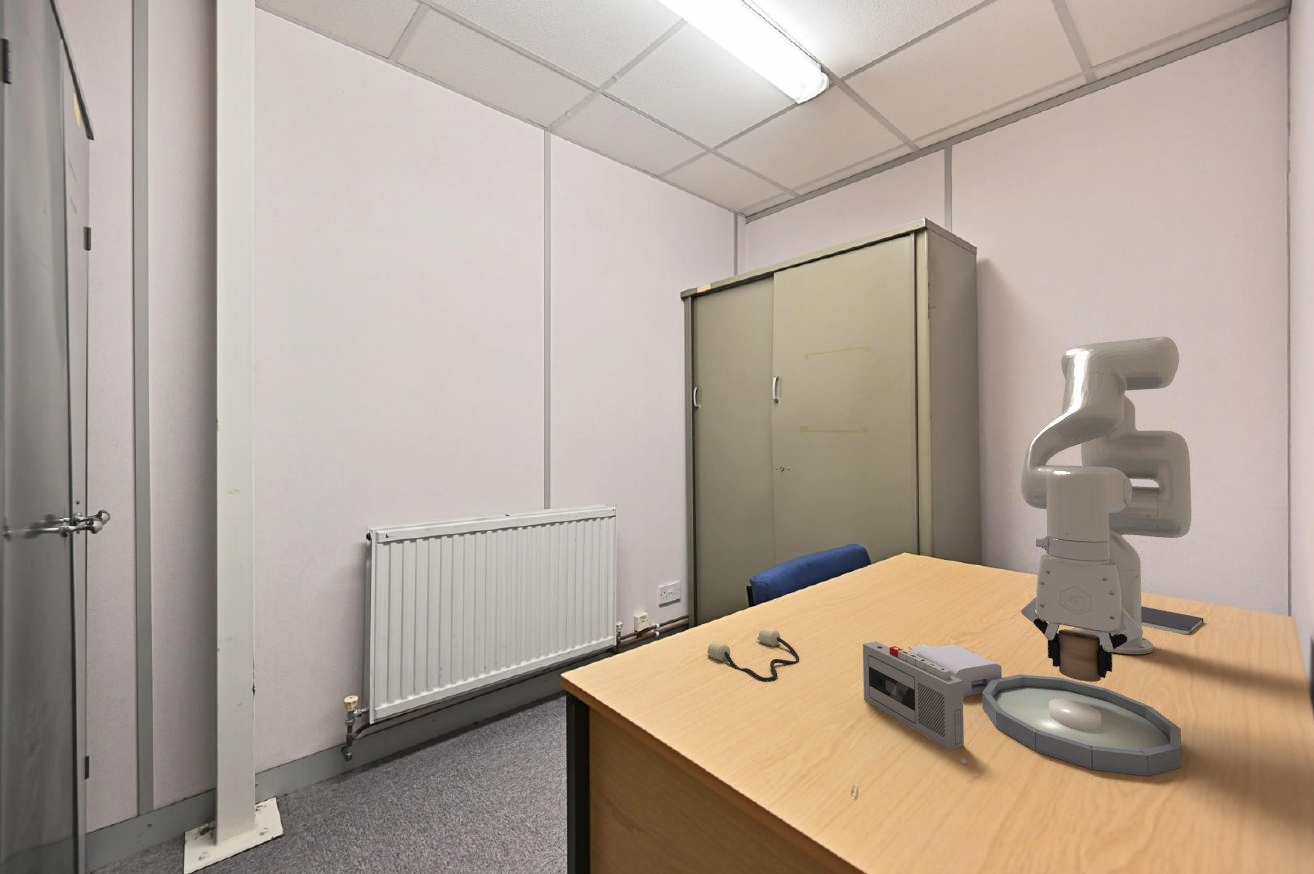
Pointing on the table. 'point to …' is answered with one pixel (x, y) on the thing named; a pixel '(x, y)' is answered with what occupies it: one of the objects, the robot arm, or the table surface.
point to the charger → (961, 665)
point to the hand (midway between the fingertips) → (1079, 668)
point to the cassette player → (915, 692)
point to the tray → (1083, 724)
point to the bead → (1079, 655)
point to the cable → (765, 636)
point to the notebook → (1169, 620)
